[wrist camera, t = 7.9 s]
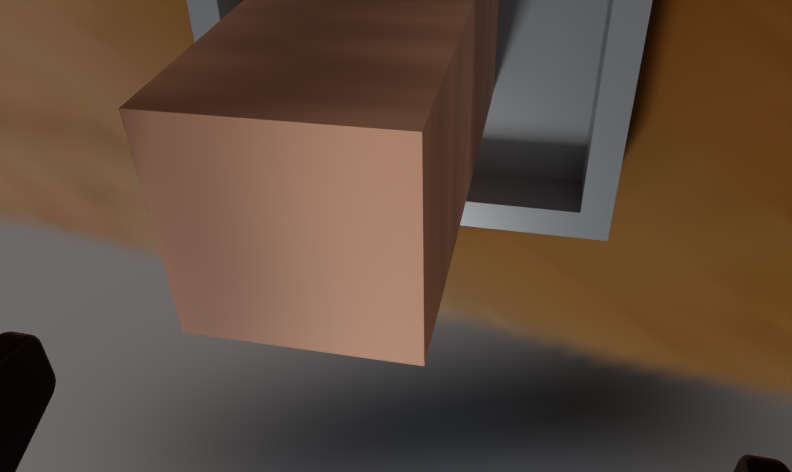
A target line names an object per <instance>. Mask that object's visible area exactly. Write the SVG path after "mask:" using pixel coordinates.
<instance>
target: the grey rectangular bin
mask: <svg viewBox="0 0 792 472" xmlns="http://www.w3.org/2000/svg"><path fill="white" fill-rule="evenodd" d="M186 1H187V6H188V11H189V16H190V21H191V26H192V31H193V36H194V41H195V42H196V41H197V40H198V39H199V38H201V37H202V36H203V35H204V34H205V33H206V32H207V31H209V30H210V29H211V28H212V27H213V26H214V25H216V24H217V23H218V22H219V21H220V20H221V19H222V18H224V17H225V16H226V15H227V14H228V13H229V12H231V11H232V10H233V9H234V8H235V7H236V6H237V5H239V4H240V3H241V2H242V1H243V0H186ZM652 1H653V0H500V1H499V19H498V37H497V55H496V73H495V88H494V92H493V96H492V100H491V104H490V108H489V112H488V116H487V120H486V124H485V128H484V132H483V136H482V140H481V144H480V148H479V152H478V156H477V159H476V163H475V167H474V171H473V175H472V179H471V183H470V187H469V191H468V195H467V199H466V203H465V207H464V211H463V215H462V219H461V223H460V225H462V226H472V227H481V228H491V229H500V230H509V231H519V232H528V233H538V234H547V235H556V236H566V237H575V238H585V239H594V240H603V241H608V236H609V230H610V225H611V220H612V214H613V209H614V204H615V198H616V193H617V188H618V182H619V177H620V172H621V166H622V161H623V156H624V150H625V145H626V140H627V134H628V129H629V124H630V118H631V113H632V108H633V102H634V97H635V92H636V86H637V81H638V76H639V70H640V65H641V60H642V54H643V49H644V44H645V38H646V33H647V28H648V22H649V17H650V12H651V6H652Z"/></svg>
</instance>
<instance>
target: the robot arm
mask: <svg viewBox="0 0 792 472" xmlns="http://www.w3.org/2000/svg"><path fill="white" fill-rule="evenodd" d="M55 383H56V379H55V374H54V371H53V369H52V367H51V365H50V362H49V360H48V357H47V355H46V353H45V350H44V348H43V346H42V343H41V342H40V340H39V339H38V338H37V337H36V336H33V335H30V334H24V333H18V332H5V333H2V334H0V472H16V469H17V467H18V465H19V463H20V461H21V459H22V457H23V455H24V453H25V451H26V449H27V447H28V445H29V443H30V441H31V438H32V436H33V434H34V432H35V430H36V428H37V426H38V424H39V422H40V420H41V418H42V416H43V414H44V411H45V409H46V407H47V405H48V403H49V401H50V399H51V397H52V395H53V392H54V389H55ZM733 472H790V470H789V469H788V468H787V467H786V465H785V464H783V463H782V462H780V461H778V460H776V459H771V458H765V457H759V456H753V455H744V456H742V457H741V458H740V459H739V461H738V463H737V465H736V467H735V469H734V471H733Z"/></svg>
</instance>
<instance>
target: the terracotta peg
mask: <svg viewBox="0 0 792 472" xmlns="http://www.w3.org/2000/svg"><path fill="white" fill-rule="evenodd" d="M499 1H500V0H243V1H242V2H241V3H240V4H239V5H237V6H236V7H235V8H234V9H233V10H232V11H231V12H229V13H228V14H227V15H226V16H225V17H224V18H222V19H221V20H220V21H219V22H218V23H217V24H216V25H214V26H213V27H212V28H211V29H210V30H209V31H207V32H206V33H205V34H204V35H203V36H202V37H201V38H199V39H198V40H197V41H196V42H195V43H194V44H193V45H191V46H190V47H189V48H188V49H187V50H186V51H184V52H183V53H182V54H181V55H180V56H179V57H178V58H176V59H175V60H174V61H173V62H172V63H171V64H169V65H168V66H167V67H166V68H165V69H164V70H163V71H161V72H160V73H159V74H158V75H157V76H156V77H154V78H153V79H152V80H151V81H150V82H149V83H148V84H146V85H145V86H144V87H143V88H142V89H141V90H140V91H138V92H137V93H136V94H135V95H134V96H133V97H131V98H130V99H129V100H128V101H127V102H126V103H125V104H123V105H122V106H121V107H120V108H119V111H120V114H121V118H122V122H123V125H124V129H125V132H126V136H127V139H128V143H129V146H130V150H131V153H132V157H133V160H134V164H135V167H136V171H137V174H138V178H139V182H140V185H141V189H142V192H143V196H144V199H145V203H146V206H147V210H148V213H149V217H150V220H151V224H152V227H153V231H154V234H155V238H156V242H157V245H158V249H159V252H160V256H161V259H162V263H163V266H164V270H165V273H166V277H167V280H168V284H169V287H170V291H171V294H172V298H173V301H174V305H175V309H176V312H177V315H178V319H179V323H180V326H181V329H182V332H184V333H191V334H199V335H205V336H213V337H220V338H228V339H234V340H241V341H248V342H256V343H263V344H270V345H277V346H284V347H292V348H298V349H306V350H313V351H320V352H327V353H334V354H341V355H348V356H355V357H362V358H370V359H377V360H385V361H391V362H398V363H405V364H412V365H420V366H424V365H425V362H426V357H427V353H428V350H429V346H430V342H431V338H432V334H433V330H434V326H435V322H436V318H437V314H438V310H439V306H440V302H441V298H442V294H443V290H444V286H445V282H446V278H447V274H448V270H449V266H450V263H451V259H452V255H453V251H454V247H455V243H456V239H457V235H458V231H459V227H460V223H461V219H462V215H463V211H464V207H465V203H466V199H467V195H468V191H469V187H470V183H471V179H472V175H473V171H474V167H475V163H476V159H477V156H478V152H479V148H480V144H481V140H482V136H483V132H484V128H485V124H486V120H487V116H488V112H489V108H490V104H491V100H492V96H493V92H494V88H495V73H496V55H497V37H498V19H499Z"/></svg>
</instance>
